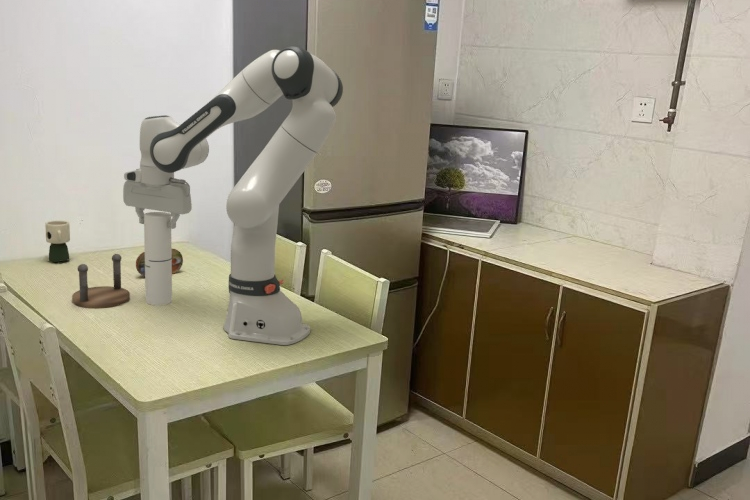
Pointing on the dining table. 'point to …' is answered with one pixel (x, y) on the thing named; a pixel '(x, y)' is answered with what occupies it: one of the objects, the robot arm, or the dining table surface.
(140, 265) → the tin
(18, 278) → the dining table surface
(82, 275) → the roll holder
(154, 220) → the cylindrical container
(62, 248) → the character mug
